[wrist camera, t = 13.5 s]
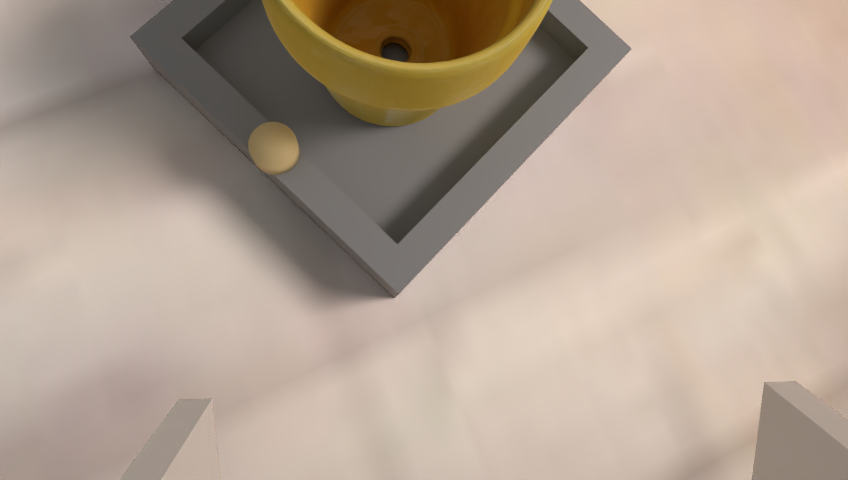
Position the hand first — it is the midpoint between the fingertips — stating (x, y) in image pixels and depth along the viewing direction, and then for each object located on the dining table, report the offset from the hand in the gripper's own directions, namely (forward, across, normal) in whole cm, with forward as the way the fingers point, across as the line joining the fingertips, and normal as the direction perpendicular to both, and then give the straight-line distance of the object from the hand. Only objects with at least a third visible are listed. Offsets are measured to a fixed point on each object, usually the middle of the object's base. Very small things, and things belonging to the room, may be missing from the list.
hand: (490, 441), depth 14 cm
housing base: (+19, -3, +9) cm, 21 cm away
